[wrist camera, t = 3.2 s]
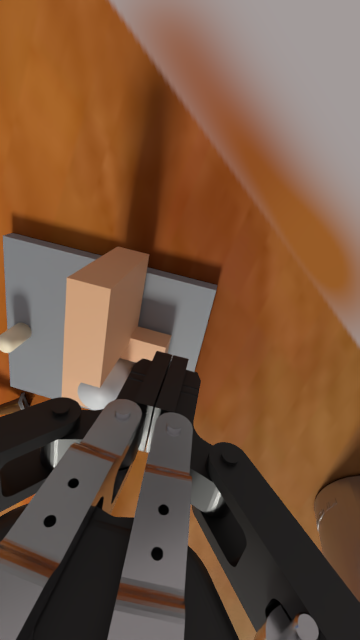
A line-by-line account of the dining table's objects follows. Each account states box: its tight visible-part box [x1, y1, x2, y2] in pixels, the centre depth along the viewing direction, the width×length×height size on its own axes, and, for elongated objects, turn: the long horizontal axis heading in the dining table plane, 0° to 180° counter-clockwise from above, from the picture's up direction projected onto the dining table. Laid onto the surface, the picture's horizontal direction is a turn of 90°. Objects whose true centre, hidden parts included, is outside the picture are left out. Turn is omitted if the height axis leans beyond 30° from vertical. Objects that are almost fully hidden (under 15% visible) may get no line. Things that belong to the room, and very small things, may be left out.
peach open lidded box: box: [61, 247, 171, 408], centre depth 23 cm, size 14×8×8 cm, turn 169°
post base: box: [0, 233, 217, 410], centre depth 26 cm, size 17×15×6 cm
